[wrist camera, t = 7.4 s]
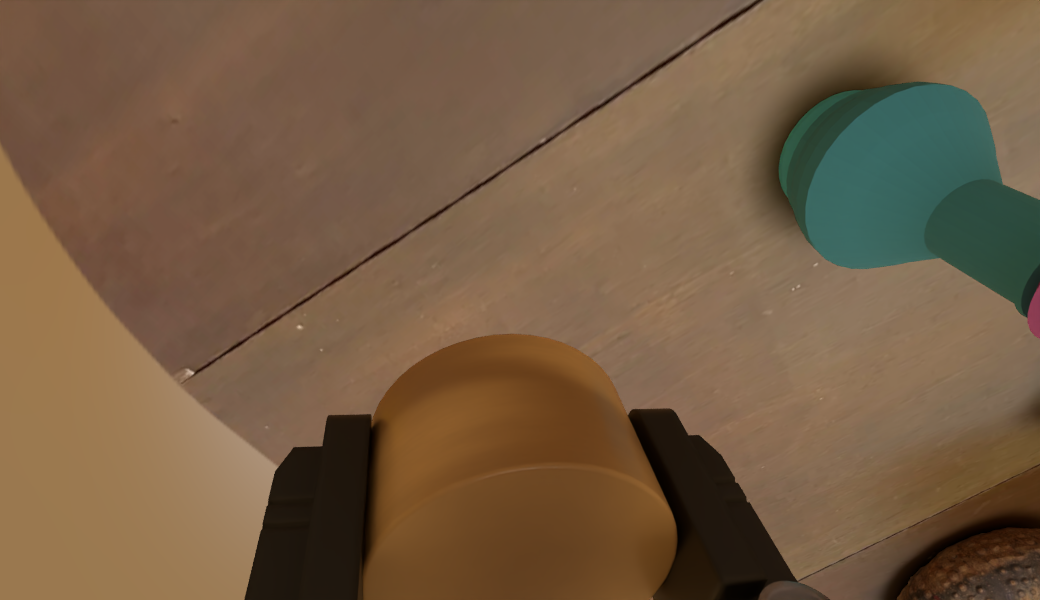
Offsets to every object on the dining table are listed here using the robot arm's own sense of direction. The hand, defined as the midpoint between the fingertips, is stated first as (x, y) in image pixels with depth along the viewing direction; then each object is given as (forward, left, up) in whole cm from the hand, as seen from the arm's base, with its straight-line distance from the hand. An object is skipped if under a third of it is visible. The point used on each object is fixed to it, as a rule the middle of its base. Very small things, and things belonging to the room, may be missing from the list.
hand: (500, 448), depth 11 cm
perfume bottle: (+21, 0, -21) cm, 30 cm away
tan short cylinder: (0, 0, 0) cm, 0 cm away
